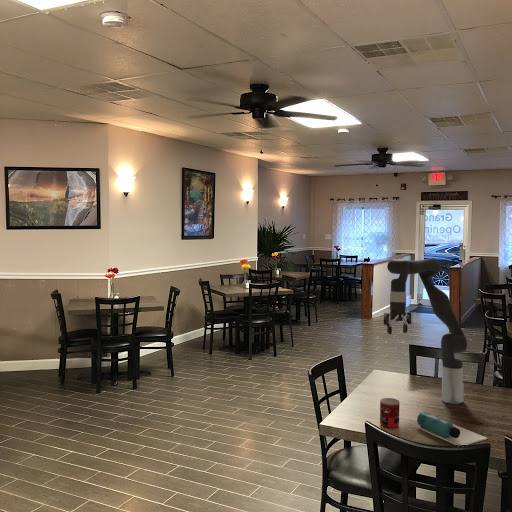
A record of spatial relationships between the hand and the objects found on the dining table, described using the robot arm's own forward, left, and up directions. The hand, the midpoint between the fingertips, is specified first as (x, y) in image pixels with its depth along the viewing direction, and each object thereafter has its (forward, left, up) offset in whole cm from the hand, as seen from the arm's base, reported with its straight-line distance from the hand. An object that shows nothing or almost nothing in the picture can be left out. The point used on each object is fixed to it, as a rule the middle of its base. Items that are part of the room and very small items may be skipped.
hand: (397, 333), depth 258 cm
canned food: (+22, +28, -33) cm, 49 cm away
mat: (+2, +43, -33) cm, 55 cm away
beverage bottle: (+10, +32, -30) cm, 45 cm away
